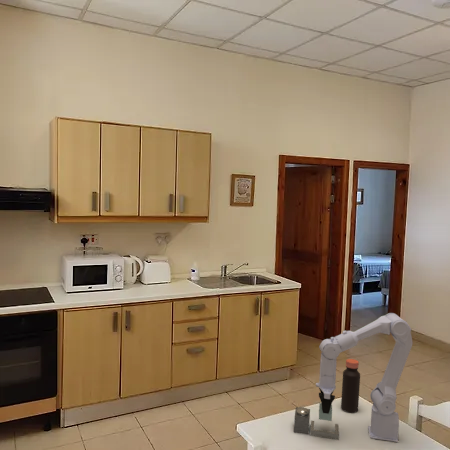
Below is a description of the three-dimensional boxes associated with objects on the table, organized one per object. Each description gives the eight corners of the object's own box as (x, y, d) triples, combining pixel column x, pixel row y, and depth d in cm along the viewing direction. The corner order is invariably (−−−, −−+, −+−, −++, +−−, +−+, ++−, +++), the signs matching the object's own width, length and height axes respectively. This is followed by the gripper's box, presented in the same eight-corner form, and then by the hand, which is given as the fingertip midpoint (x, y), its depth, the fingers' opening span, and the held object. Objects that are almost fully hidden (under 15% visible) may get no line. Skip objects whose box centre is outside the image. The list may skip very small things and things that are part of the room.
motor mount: (338, 428, 166) (339, 410, 165) (338, 439, 158) (339, 420, 158) (295, 422, 169) (295, 404, 168) (293, 433, 161) (294, 414, 161)
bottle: (349, 414, 177) (352, 365, 176) (337, 407, 183) (340, 359, 181) (361, 411, 180) (364, 362, 179) (349, 403, 186) (352, 357, 185)
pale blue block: (331, 415, 165) (332, 402, 164) (331, 421, 160) (332, 407, 160) (318, 413, 165) (319, 400, 165) (318, 419, 161) (319, 405, 161)
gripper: (316, 364, 170) (314, 399, 171) (316, 379, 155) (314, 417, 156) (335, 366, 168) (333, 401, 169) (337, 382, 154) (334, 420, 155)
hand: (325, 409), depth 163 cm, fingers closed on pale blue block, 4 cm apart
